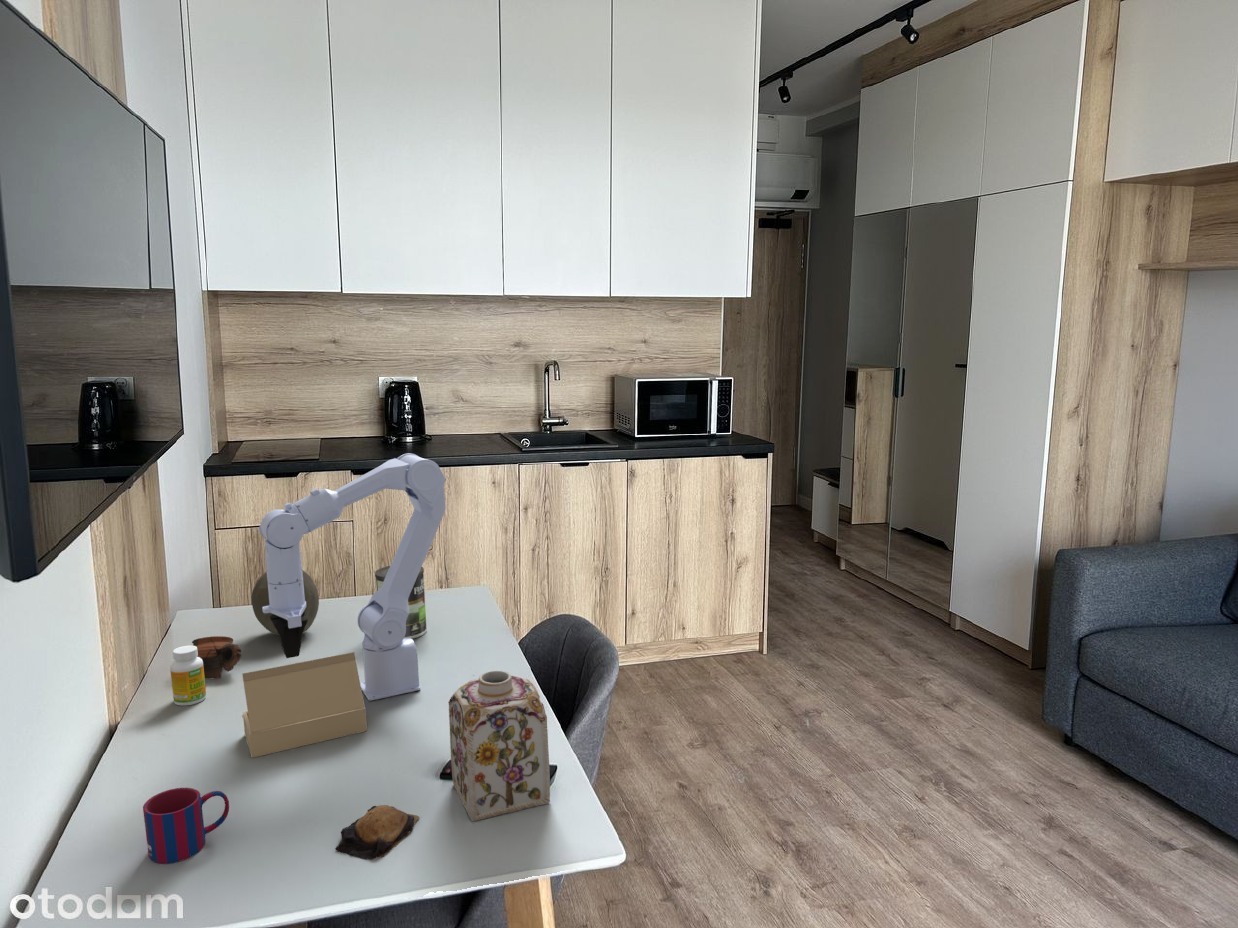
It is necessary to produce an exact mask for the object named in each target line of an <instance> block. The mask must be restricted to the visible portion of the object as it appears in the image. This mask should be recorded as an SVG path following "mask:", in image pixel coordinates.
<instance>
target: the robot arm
mask: <svg viewBox="0 0 1238 928" xmlns="http://www.w3.org/2000/svg"><path fill="white" fill-rule="evenodd" d="M445 482H446V477H445V475H444V473H443V471H442V470H441V468H440V466H439V464H437V463H436V462H435V461H433V460H431V459H427V458H423V457H420V456H419V455H417V454H415V453H409V452H408V453H407V452H406V453H404V454H402V455H399V456H398V457H397V458H396V457H395V458H391V459H388V460H386V461H385V462H383V463H382V464H381V465H379V466H377V467H375V468H373V469H372V470H370V471H368V472H366V473H364V474H362V475H360V476H359V477H357V478H355V479H354V480H352V481H350V482H348V483H347V484H344V485H342V486H341V487H339V488H337V489H335V490H332V489H328V488H322V489H320V490H319V489H318V488H317V487H316V488H314V489H311V490H309V492H310V494H309V495H307V496H305V497H303V498H301V499H299V500H297V501H294V502H293V503H291V502H287V503H284V504H283V505H284V506H283V508H284V509H279V508H276V509H272V510H270V511H268V512H267V513H265V515H264V517H262V519H261V522H260V526H258V529H259V533H260V534H261V536H262V537H263V538H264V539H265V541H264V544H265V545H264V548H265V549H264V551H265V566H266V567H265V569H266V572H267V581H268V592H269V604H270V605H269V606H264V607H262V610H263V613H272V614H273V615H270V619H271V621H272V623H273V625H274V627H275V628H276V629H277V632H278V635H277V636H278V637H279V641H280V645H281V646H280V647H281V649H282V651H283V653H284V655H285V657H286V659H289V658H295V657H299V655H300V653H301V647H302V646H301V645H302V639H303V631H304V628H305V626H306V624H307V621H308V618H307V616H304V615H305V612H304V610H305V608H306V601H305V597H304V584H303V573H302V570H303V564H302V563H303V562H302V552H301V549H300V547H301V546H300V541H302V539H303V536H304V535H308V534H309V533H312V532H313V531H315V530H317V529H319V528H321V527H323V526H325V525H327V524H330V523H331V522H333V521H335V520H336V519H339V518H340V517H341V515H342V512H343V511H344V508H345V507H348V506H350V505H352V504H354V503H356V502H359V501H361V500H363V499H366V498H368V497H370V496H372V495H375V494H376V493H379V492H381V491H383V490H395V491H397V490H398V491H404V492H405V493H406V494H407V496H408V499H409V501H410V502H411V505H412V507H413V512H412V514H411V516H410V519H409V521H408V524H407V526H406V528H405V530H404V533H403V536H402V538H401V540H400V543H399V544H398V547H397V550H396V551H395V554H394V556H393V559H392V561H391V564H390V565H389V566H390V568H389V570H388V572H387V575H386V577H385V579H384V582H383V584H382V586H381V588H380V589H379V590H378V591H377V590H376V591H375V592H374V593H372V595H371V597H370V600H369V601H368V602H367V604H365V606H363V607H362V608H361V609H360V611H359V613H358V615H357V626H358V628H359V630H360V631H361V632H362V633H364V637H363V640H362V643H361V644H362V659H363V671H364V672H363V674H364V681H363V682H360V685H361V691H362V693H363V694H364V695H365V697H366V698H367V700H368V701H370V702H371V701H376V700H380V699H386V698H390V697H395V696H398V695H402V694H408V693H411V692H416V691H417V692H418V691H420V690H421V686H420V675H419V660H418V652H417V646H416V644H415V641H414V639H411V638H407V639H404V637H405V634H406V620H407V617H408V615H409V607H408V598H409V595H410V593H411V591H412V588H413V586H414V583H415V581H416V579H417V576H418V574H419V572H420V569H421V567H423V564H424V562H425V560H426V557H427V555H428V553H429V551H430V548H431V546H432V543H433V541H434V538H435V536H436V533H437V531H438V529H439V527H440V524H441V522H442V519H443V517H444V515H445V511H446V498H445Z"/></svg>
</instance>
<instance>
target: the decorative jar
mask: <svg viewBox="0 0 1238 928" xmlns="http://www.w3.org/2000/svg"><path fill="white" fill-rule="evenodd" d="M448 720H449V744H450V746H449V748H450V762H451V776H452V784H453V786H454V788H455V790H456V793H457V794H458V797H459V799H460V800H461V803H462V804H463V806H464V809H465V810H466V812H467V814H468V817H469V818H470V820H471V821H472V822H478V821H481V820H486V819H488V818H493V817H496V816H501V815H504V814H510V813H514V812H518V811H522V810H526V809H530V808H534V807H538V806H542V805H549V803H550V802H551V789H550V788H551V784H550V783H551V781H550V779H551V778H550V776H551V775H550V754H549V734H548V732H549V731H548V717H547V713H546V709H545V706H544V704H543V702H542V701H541V696H540V694H539V691H538V690H537V688H536V687H535V685H534V684H533V682H531V680H529V679H528V678H524V677H523V678H522V677H518V676H515V675H512V674H511V673H510V672H507V671H503V670H491V671H486V672H484V673H481V674H480V675H479V676H478V678H475V679H471V680H469V681H468V682H466V683H465V684H463V685H461V686H460V687H458V689H457V690H456V691H454V693H453V694H452V695H451V697H450V698H449V700H448Z"/></svg>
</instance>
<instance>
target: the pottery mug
mask: <svg viewBox="0 0 1238 928" xmlns="http://www.w3.org/2000/svg"><path fill="white" fill-rule="evenodd" d="M191 644H192V646H196V647H197V651H198V655H197V657H200V658H201V659H202V660H203V667H204V676H205V680H211V679H221V678H222V671H223V670H225V672H227V673H229V672H231V671H232V670H233V669H234V667H235V666H236V665H238V663H239V662H240V660H241V658H242V648H241V646H240V645H239V644H234V639H233V638H232V637H230V636H222V635H219V636H218V635H217V636H216V635H215V636H213V635H212V636H206V637H201V638H199V637H198V638H196V639H193V640H192V642H191Z"/></svg>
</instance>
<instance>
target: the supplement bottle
mask: <svg viewBox="0 0 1238 928" xmlns="http://www.w3.org/2000/svg"><path fill="white" fill-rule="evenodd" d="M197 655H198V651H197V647H196V646H193V645H183V646H179V647H177V648H174V649H173V651H172V658H173V660H174V661H173V662H171V664H170V667H169V668H170V669H169V671H170V678H171V686H172V687H171V689H172V698H173V703H174V704H175V705H177V706H181V707H182V706H183V707H184V706H192V705H196V704H199V703H201V702H202V701H204V700H205V699H206V697H207V688H206V679H205V676H204V667H203V660H202V659H201V658H200V657H197Z"/></svg>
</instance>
